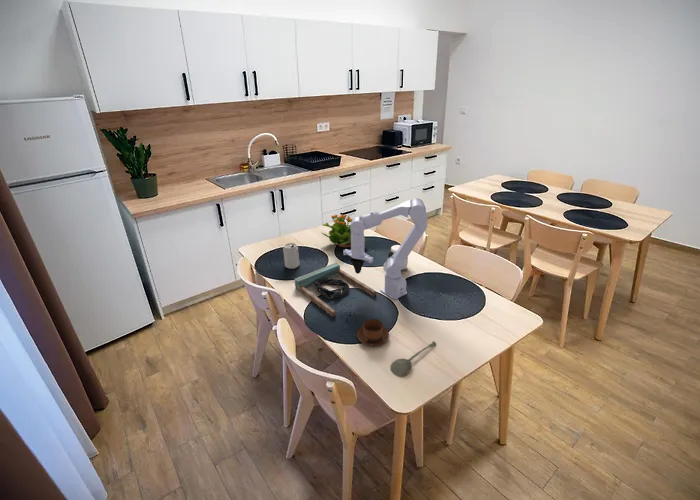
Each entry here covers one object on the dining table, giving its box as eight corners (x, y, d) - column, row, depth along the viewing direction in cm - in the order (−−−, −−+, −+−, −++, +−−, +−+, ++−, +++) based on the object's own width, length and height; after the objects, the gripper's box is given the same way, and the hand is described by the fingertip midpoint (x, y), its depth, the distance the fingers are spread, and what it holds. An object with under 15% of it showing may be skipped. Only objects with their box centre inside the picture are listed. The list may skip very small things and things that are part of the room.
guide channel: (375, 295, 160) (375, 286, 158) (332, 317, 147) (332, 307, 145) (336, 271, 180) (336, 262, 178) (295, 288, 167) (294, 278, 165)
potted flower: (374, 241, 211) (374, 213, 203) (353, 257, 193) (352, 227, 186) (339, 233, 223) (338, 206, 216) (316, 247, 205) (314, 219, 198)
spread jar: (406, 265, 185) (408, 244, 180) (407, 276, 175) (409, 255, 170) (383, 264, 186) (383, 244, 181) (383, 275, 176) (383, 254, 171)
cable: (308, 287, 168) (307, 279, 166) (332, 277, 176) (332, 269, 174) (329, 303, 156) (329, 295, 154) (354, 292, 164) (354, 284, 162)
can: (298, 269, 183) (296, 248, 178) (283, 269, 183) (281, 248, 178) (300, 262, 190) (298, 242, 184) (286, 262, 190) (284, 242, 184)
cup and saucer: (387, 351, 129) (387, 337, 126) (354, 346, 131) (353, 333, 128) (390, 329, 139) (390, 316, 136) (360, 326, 141) (359, 313, 139)
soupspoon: (386, 371, 121) (400, 383, 117) (386, 364, 120) (400, 375, 115) (427, 340, 133) (442, 350, 129) (428, 333, 132) (443, 343, 127)
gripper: (377, 245, 153) (376, 273, 159) (349, 237, 161) (350, 264, 167) (367, 251, 148) (367, 280, 154) (340, 243, 156) (341, 270, 162)
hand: (358, 272), depth 160 cm, fingers closed
